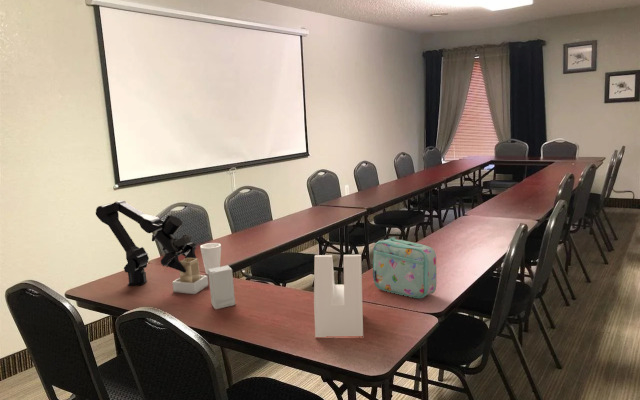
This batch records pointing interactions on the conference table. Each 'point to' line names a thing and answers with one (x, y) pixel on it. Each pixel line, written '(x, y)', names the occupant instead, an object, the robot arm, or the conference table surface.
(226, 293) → the skincare box
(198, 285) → the white tray
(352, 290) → the white notched block
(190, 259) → the birch caddy
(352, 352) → the conference table surface
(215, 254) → the foam cup
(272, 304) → the conference table surface
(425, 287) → the lunch box
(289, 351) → the conference table surface
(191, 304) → the conference table surface
